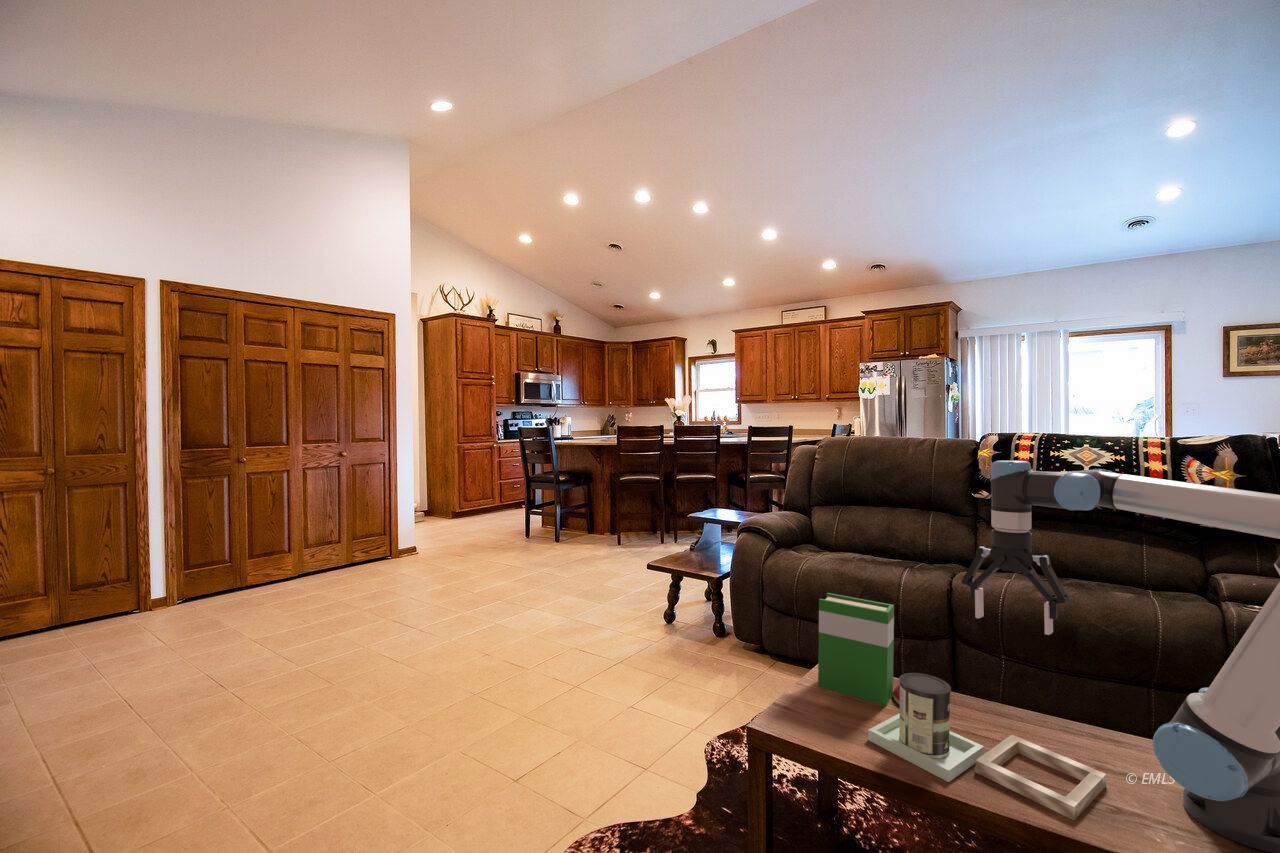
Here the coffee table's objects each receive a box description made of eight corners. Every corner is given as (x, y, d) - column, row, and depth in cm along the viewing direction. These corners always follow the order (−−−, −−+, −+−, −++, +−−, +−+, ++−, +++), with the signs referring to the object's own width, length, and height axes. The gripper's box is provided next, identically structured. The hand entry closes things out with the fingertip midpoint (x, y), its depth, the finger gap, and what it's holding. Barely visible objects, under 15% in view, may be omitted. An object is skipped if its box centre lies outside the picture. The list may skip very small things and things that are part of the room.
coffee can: (941, 735, 129) (942, 674, 129) (956, 762, 119) (957, 696, 119) (893, 729, 131) (894, 670, 131) (904, 755, 121) (905, 691, 121)
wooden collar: (1106, 786, 112) (1106, 774, 112) (1074, 820, 103) (1074, 807, 103) (1011, 745, 126) (1011, 734, 126) (975, 772, 117) (975, 760, 117)
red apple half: (903, 712, 141) (903, 698, 141) (886, 693, 151) (886, 680, 151) (930, 712, 141) (930, 698, 141) (911, 693, 151) (911, 680, 151)
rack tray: (983, 757, 122) (983, 746, 122) (948, 782, 113) (948, 770, 113) (904, 720, 137) (904, 710, 137) (868, 740, 128) (868, 729, 128)
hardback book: (818, 686, 154) (819, 599, 154) (826, 676, 160) (827, 592, 160) (886, 705, 144) (887, 612, 143) (892, 694, 150) (894, 605, 149)
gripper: (1085, 535, 118) (1087, 636, 118) (959, 521, 138) (960, 607, 137) (1074, 539, 113) (1076, 645, 113) (945, 524, 133) (946, 614, 133)
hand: (1012, 624), depth 125 cm, fingers open, 13 cm apart
